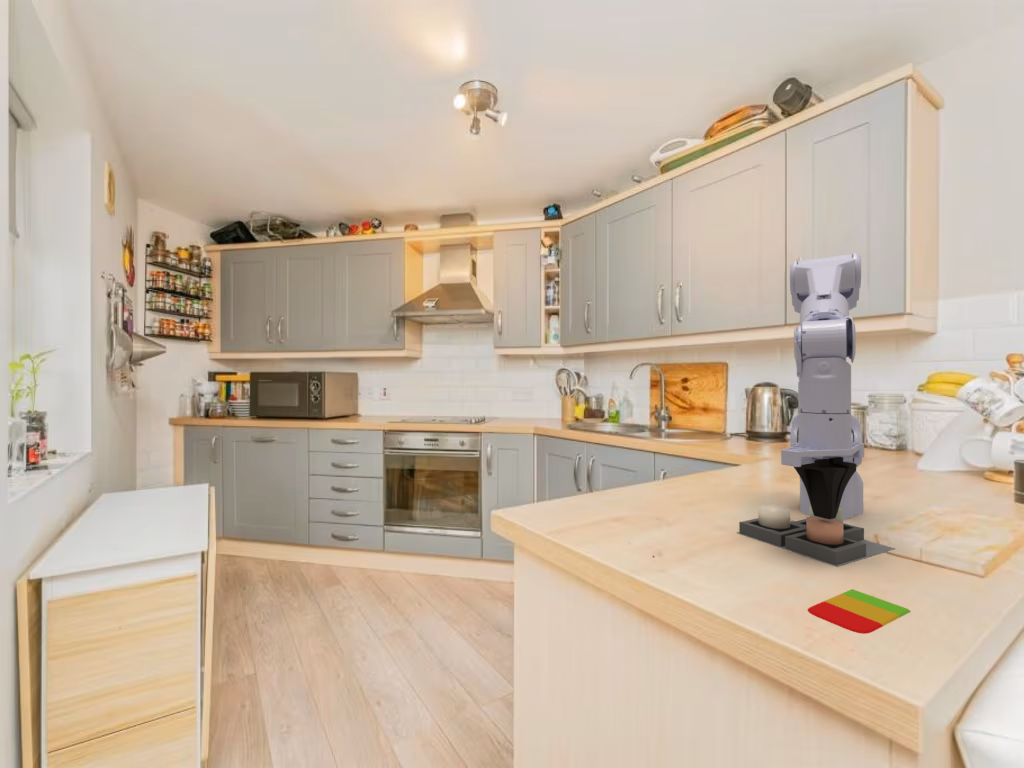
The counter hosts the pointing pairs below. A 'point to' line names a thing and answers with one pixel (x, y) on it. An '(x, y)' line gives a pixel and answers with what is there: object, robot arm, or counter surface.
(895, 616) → the striped ice pop
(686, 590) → the counter surface
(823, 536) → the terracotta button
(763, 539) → the grey compartment tray
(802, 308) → the robot arm
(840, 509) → the sage button
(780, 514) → the cream button
